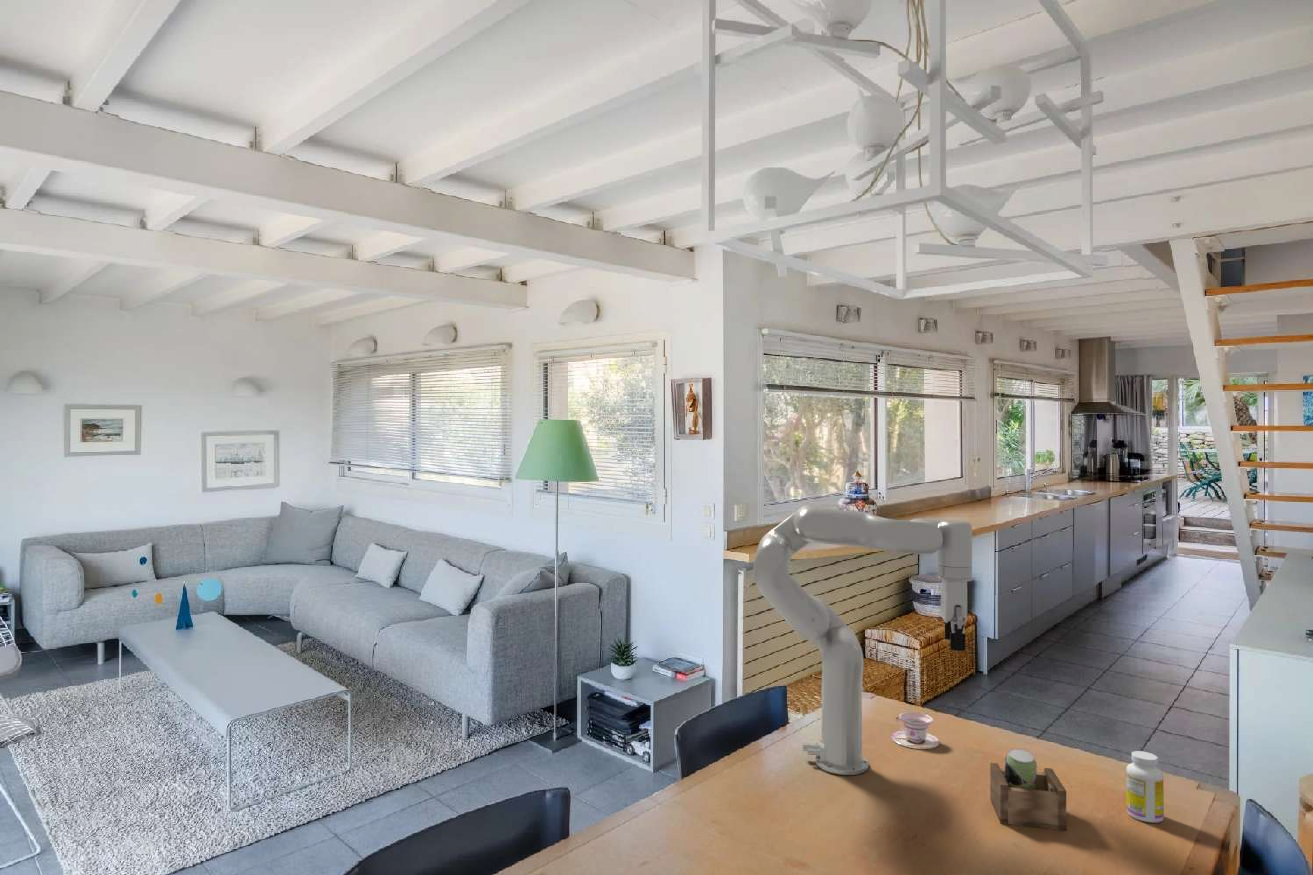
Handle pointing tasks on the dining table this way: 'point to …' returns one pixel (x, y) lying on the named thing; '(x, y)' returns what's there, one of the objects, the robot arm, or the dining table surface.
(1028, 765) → the beverage can
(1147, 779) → the supplement bottle
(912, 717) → the teacup
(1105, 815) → the dining table surface
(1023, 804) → the holder
